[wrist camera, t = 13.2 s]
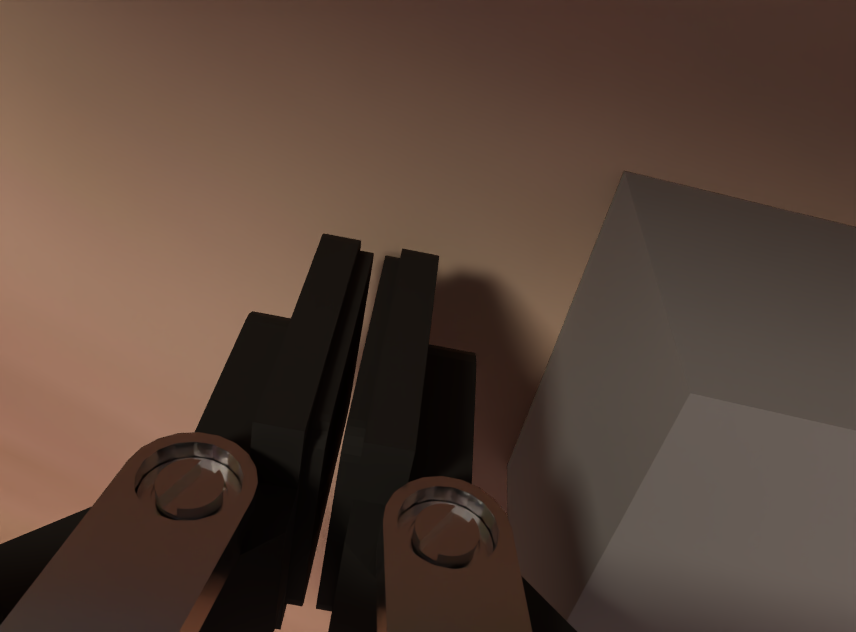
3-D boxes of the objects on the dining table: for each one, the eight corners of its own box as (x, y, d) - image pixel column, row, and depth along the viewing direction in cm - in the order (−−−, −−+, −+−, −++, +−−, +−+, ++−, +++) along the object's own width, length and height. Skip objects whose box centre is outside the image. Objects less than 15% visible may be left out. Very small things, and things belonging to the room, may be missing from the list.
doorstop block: (863, 537, 15) (997, 822, 11) (506, 460, 15) (509, 726, 11) (1076, 277, 12) (1380, 548, 8) (622, 166, 11) (690, 393, 7)
